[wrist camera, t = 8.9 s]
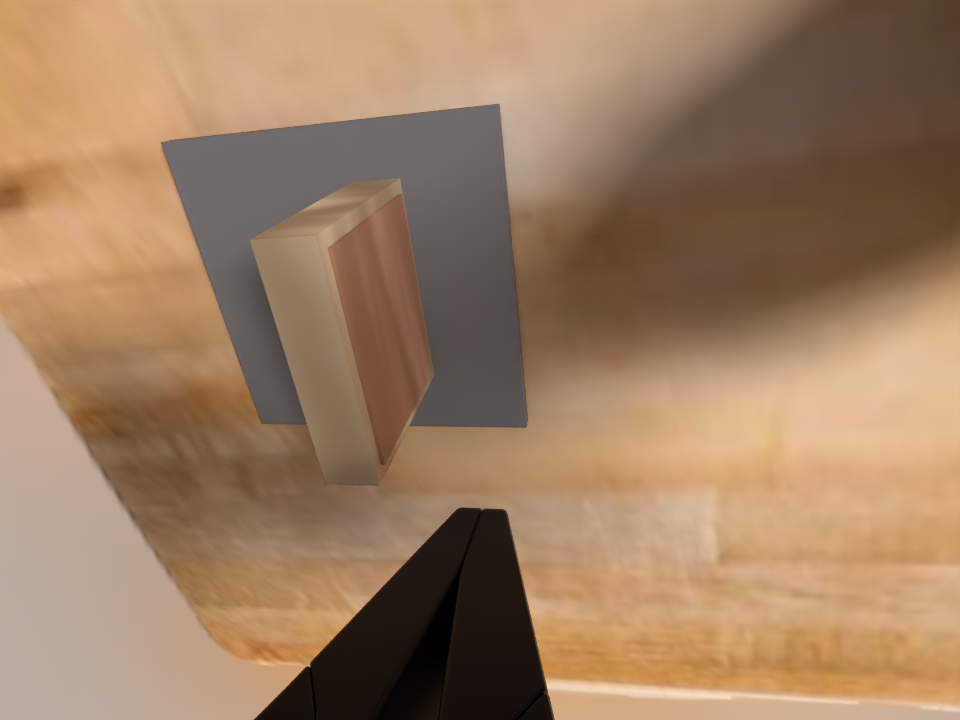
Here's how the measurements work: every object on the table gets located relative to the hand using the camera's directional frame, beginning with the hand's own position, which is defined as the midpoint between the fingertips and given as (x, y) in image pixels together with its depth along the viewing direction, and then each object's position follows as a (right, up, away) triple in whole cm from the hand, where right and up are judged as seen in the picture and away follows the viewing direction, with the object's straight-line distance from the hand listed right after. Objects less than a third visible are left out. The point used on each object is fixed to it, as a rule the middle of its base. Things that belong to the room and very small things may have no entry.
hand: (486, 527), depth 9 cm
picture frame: (-3, +5, +10) cm, 12 cm away
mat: (-4, +5, +11) cm, 13 cm away
